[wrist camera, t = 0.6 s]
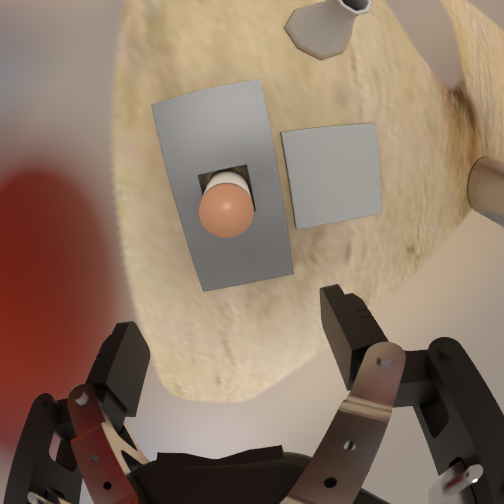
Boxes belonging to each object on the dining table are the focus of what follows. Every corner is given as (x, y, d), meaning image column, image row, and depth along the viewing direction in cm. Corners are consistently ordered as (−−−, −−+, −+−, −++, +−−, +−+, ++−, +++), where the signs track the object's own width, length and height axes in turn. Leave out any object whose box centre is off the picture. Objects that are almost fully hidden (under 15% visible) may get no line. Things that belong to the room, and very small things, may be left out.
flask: (360, 38, 22) (407, 14, 13) (321, 70, 24) (361, 49, 15) (314, -4, 19) (345, -43, 10) (271, 27, 21) (290, -13, 12)
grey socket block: (256, 85, 24) (260, 78, 21) (287, 257, 33) (293, 273, 29) (161, 107, 24) (151, 104, 21) (205, 273, 33) (203, 291, 30)
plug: (242, 162, 28) (248, 179, 19) (249, 198, 30) (258, 231, 21) (205, 170, 28) (192, 192, 19) (213, 205, 30) (206, 242, 21)
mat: (373, 123, 26) (375, 123, 26) (379, 212, 31) (381, 213, 31) (280, 132, 27) (281, 132, 26) (295, 227, 31) (296, 229, 31)
